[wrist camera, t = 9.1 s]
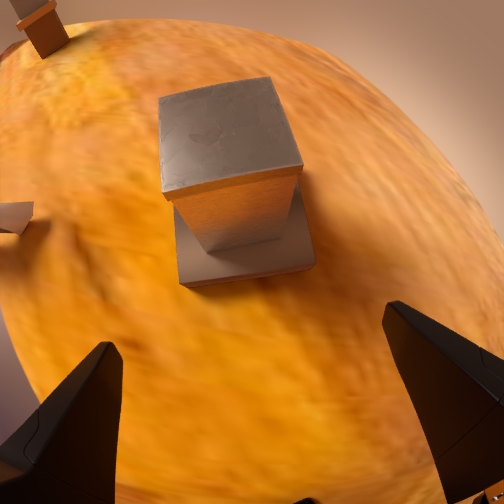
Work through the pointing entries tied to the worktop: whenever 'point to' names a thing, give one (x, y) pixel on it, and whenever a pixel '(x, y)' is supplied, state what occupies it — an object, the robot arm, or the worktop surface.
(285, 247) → the block
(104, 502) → the robot arm
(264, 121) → the tin
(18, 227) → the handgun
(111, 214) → the worktop surface
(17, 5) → the knife
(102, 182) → the worktop surface
